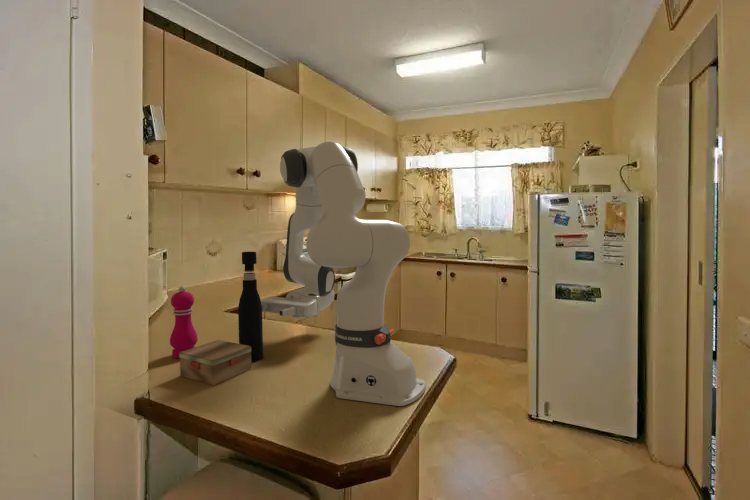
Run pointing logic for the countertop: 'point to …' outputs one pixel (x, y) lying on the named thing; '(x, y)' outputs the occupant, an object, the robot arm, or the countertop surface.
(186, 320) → the pepper mill
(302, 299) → the robot arm
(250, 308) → the black bottle
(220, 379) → the wooden box
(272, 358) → the countertop surface
